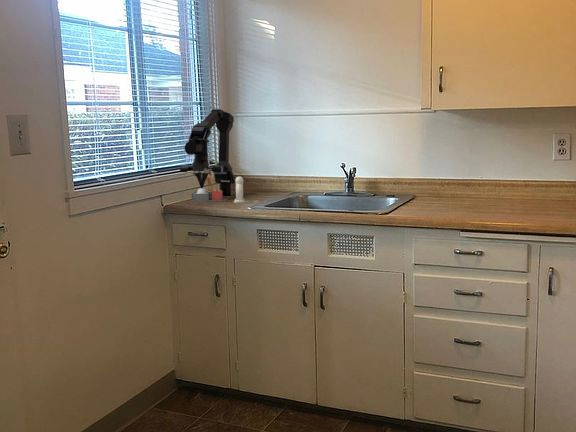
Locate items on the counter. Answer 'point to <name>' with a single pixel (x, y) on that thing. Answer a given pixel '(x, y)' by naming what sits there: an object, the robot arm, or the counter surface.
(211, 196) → the popper base
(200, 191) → the dome
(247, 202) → the track board
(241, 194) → the pawn
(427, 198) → the counter surface
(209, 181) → the figurine
